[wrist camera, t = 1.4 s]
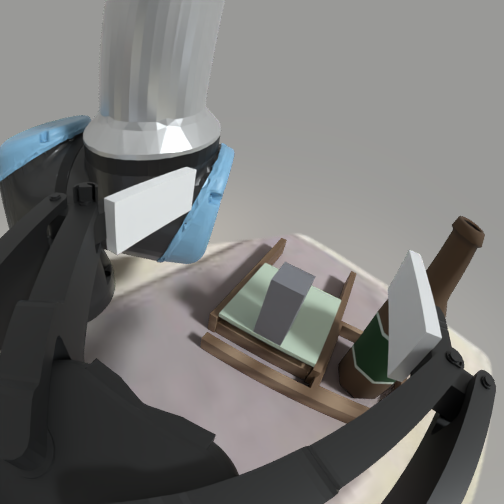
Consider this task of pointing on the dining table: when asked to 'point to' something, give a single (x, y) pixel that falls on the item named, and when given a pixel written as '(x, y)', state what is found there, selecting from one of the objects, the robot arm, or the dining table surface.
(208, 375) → the dining table surface
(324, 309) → the cover
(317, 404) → the brown flat frame
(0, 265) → the robot arm
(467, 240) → the beer bottle
